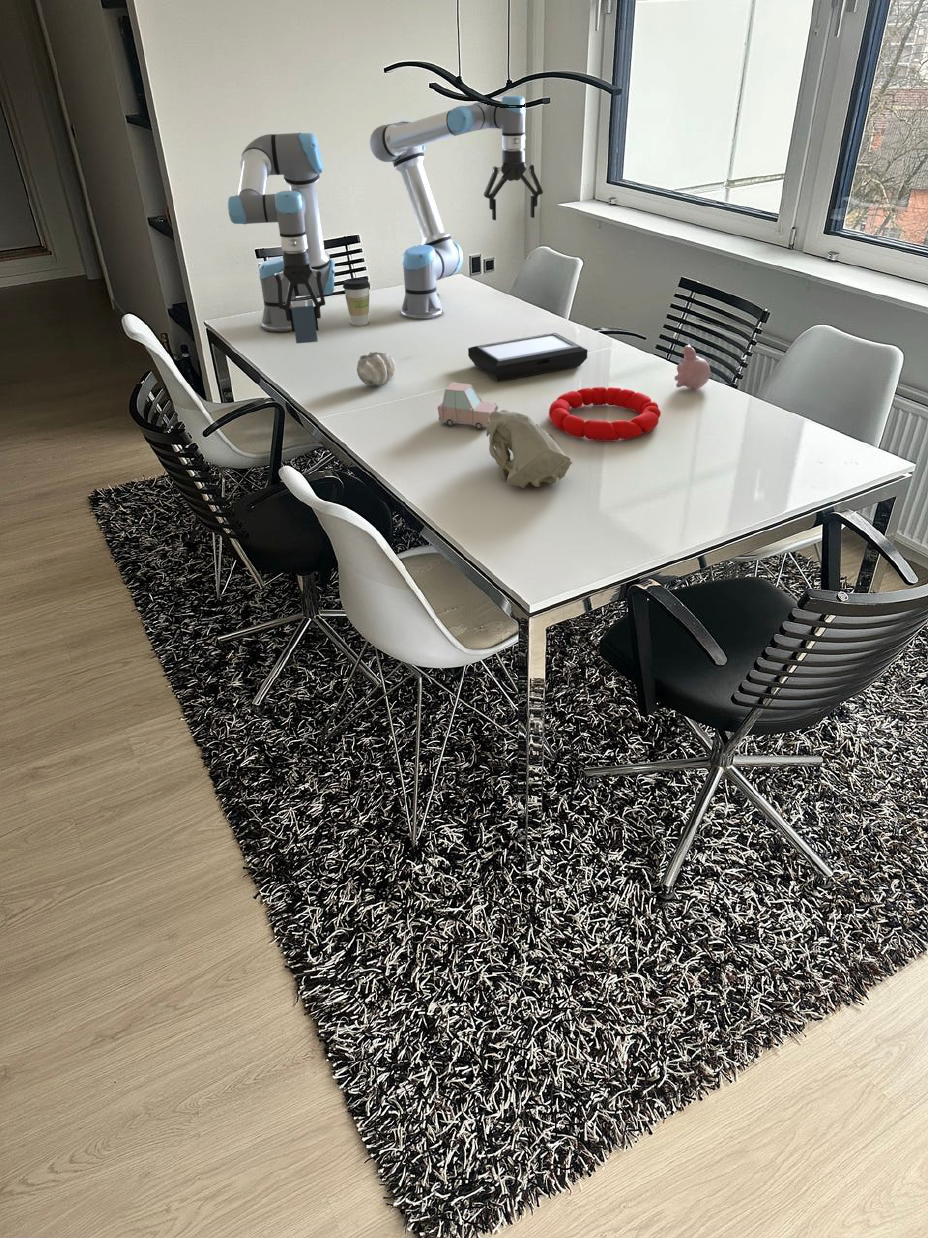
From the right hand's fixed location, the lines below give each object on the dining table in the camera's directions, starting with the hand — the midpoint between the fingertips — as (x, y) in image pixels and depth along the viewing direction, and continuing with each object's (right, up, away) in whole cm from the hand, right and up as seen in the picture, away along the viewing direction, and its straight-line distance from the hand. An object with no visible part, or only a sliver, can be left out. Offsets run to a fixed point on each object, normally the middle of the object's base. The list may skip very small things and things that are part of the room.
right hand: (513, 218), depth 308 cm
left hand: (-65, -51, -37) cm, 91 cm away
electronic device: (+3, -59, -25) cm, 64 cm away
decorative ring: (+21, -85, -64) cm, 109 cm away
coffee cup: (-55, -30, +19) cm, 66 cm away
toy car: (-16, -85, -62) cm, 107 cm away
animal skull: (-3, -102, -88) cm, 135 cm away
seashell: (-43, -67, -35) cm, 88 cm away
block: (-65, -53, -36) cm, 91 cm away
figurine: (+50, -71, -46) cm, 98 cm away
